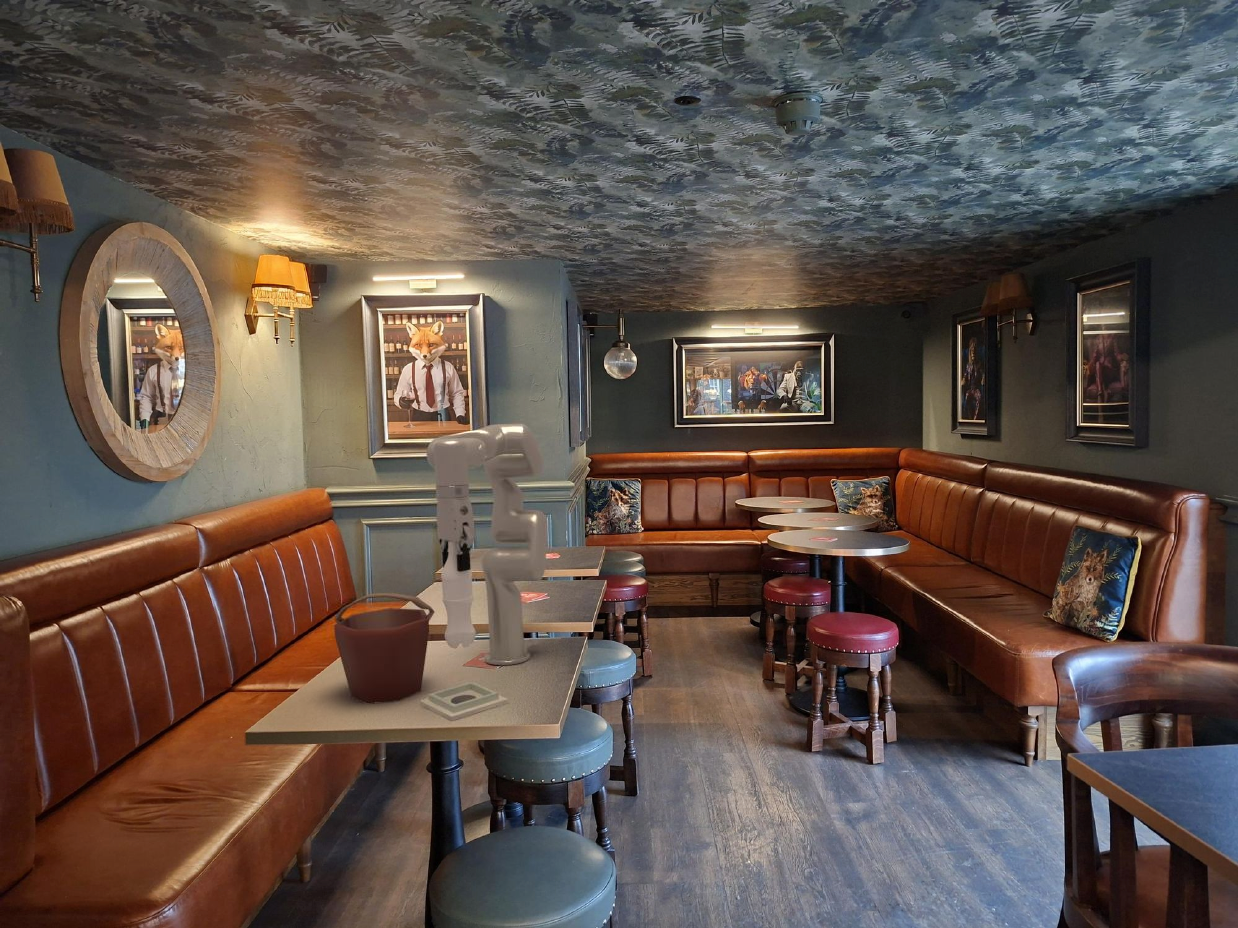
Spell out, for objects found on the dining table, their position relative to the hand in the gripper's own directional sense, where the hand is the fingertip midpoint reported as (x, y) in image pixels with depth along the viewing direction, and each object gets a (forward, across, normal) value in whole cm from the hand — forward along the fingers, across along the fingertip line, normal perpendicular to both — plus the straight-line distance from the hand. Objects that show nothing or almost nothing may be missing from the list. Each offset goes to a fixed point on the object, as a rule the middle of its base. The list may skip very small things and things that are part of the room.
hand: (456, 568), depth 186 cm
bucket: (+33, +22, +9) cm, 41 cm away
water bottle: (+19, 0, 0) cm, 19 cm away
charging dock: (+33, 0, 0) cm, 33 cm away
